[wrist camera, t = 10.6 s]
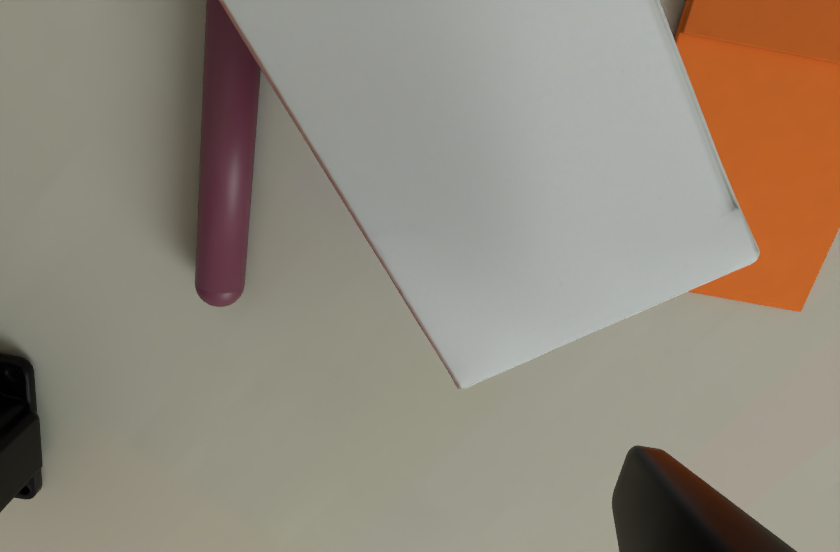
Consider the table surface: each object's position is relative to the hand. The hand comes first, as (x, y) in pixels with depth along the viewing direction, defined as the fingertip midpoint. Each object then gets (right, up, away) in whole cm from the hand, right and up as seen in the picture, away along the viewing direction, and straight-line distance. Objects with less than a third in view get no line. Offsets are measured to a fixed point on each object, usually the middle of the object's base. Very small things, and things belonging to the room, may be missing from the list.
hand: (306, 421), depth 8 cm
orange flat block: (+12, +6, +11) cm, 17 cm away
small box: (+3, +8, +11) cm, 14 cm away
